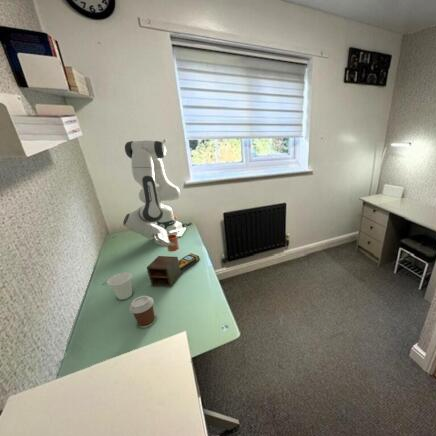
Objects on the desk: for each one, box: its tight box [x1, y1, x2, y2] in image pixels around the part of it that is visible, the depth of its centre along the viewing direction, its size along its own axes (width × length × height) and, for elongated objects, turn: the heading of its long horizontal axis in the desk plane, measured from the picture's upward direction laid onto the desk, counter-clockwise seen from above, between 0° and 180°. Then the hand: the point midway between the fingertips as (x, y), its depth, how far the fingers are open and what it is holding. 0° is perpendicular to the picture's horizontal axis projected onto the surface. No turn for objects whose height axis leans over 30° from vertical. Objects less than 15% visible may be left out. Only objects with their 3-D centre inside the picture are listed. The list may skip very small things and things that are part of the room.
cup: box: [106, 271, 133, 300], centre depth 118 cm, size 10×10×11 cm
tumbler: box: [166, 234, 180, 253], centre depth 151 cm, size 6×6×9 cm
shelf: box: [146, 255, 182, 288], centre depth 130 cm, size 11×11×12 cm
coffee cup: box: [128, 295, 156, 329], centre depth 103 cm, size 9×9×12 cm
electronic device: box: [178, 252, 200, 272], centre depth 145 cm, size 8×16×3 cm, turn 154°
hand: (173, 242), depth 151 cm, fingers closed on tumbler, 6 cm apart
